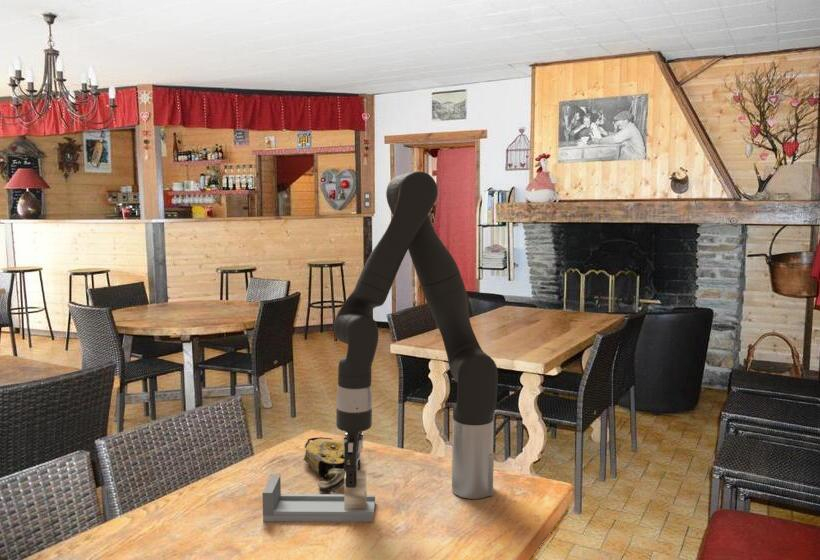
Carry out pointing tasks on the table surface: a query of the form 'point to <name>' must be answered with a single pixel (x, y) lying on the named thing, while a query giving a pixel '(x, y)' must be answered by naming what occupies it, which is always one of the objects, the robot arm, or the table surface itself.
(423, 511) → the table surface
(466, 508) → the table surface
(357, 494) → the block
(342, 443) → the pulley block
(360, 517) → the rail
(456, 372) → the robot arm
